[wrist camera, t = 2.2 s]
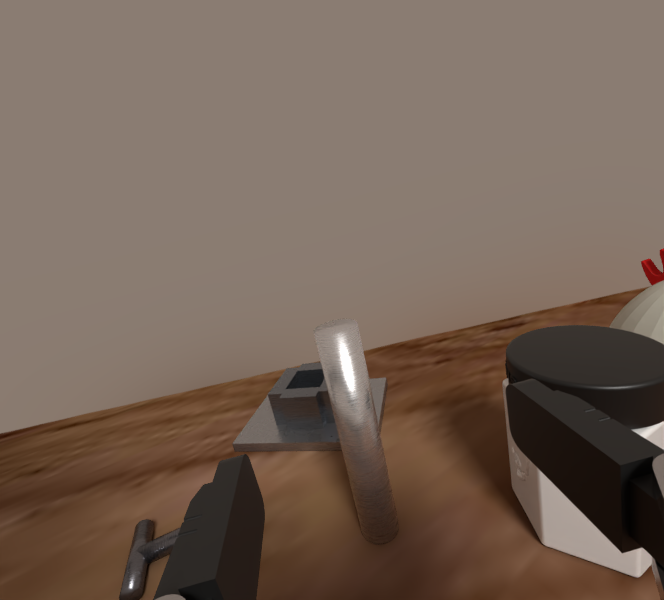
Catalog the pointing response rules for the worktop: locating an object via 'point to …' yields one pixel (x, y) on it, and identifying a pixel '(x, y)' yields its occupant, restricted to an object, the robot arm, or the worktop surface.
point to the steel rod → (357, 427)
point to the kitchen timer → (646, 306)
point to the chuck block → (300, 414)
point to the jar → (605, 395)
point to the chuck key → (144, 557)
